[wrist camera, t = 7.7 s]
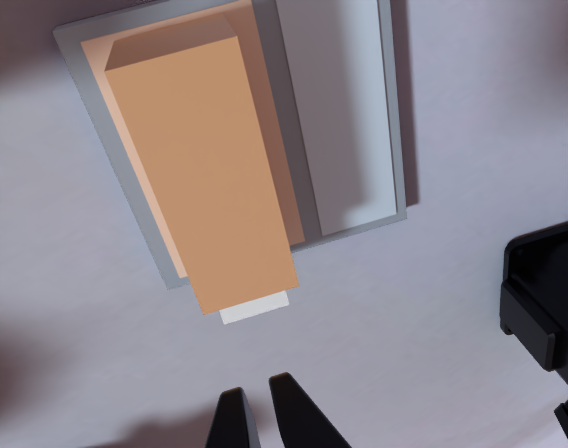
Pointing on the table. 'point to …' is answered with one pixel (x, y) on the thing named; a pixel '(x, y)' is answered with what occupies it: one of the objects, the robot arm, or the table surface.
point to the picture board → (273, 111)
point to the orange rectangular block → (206, 162)
